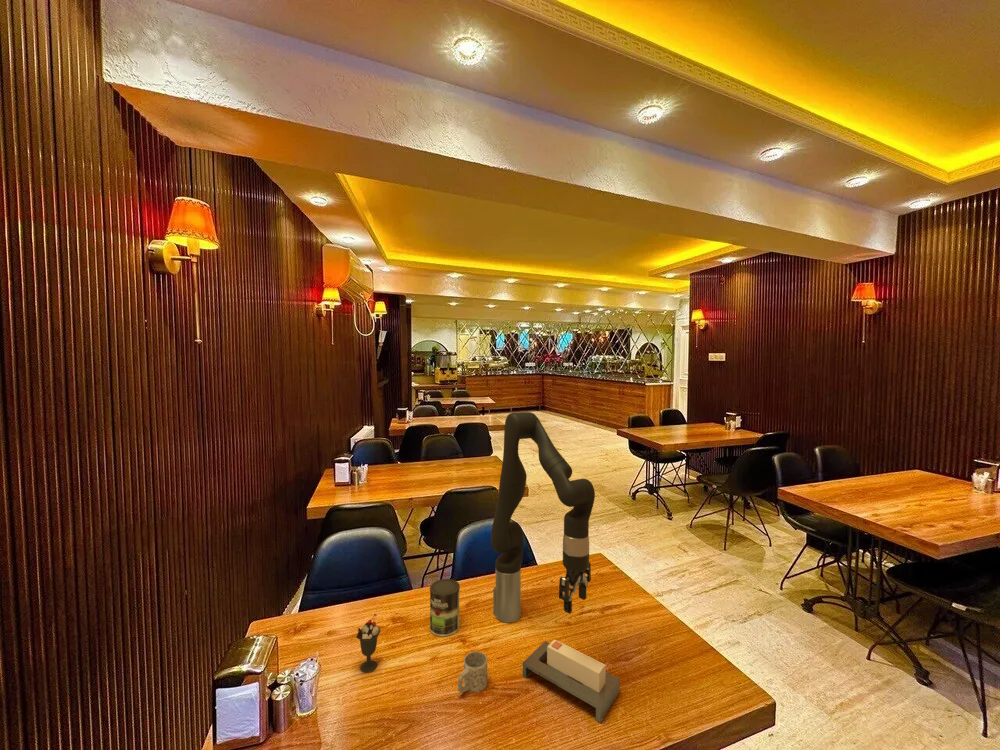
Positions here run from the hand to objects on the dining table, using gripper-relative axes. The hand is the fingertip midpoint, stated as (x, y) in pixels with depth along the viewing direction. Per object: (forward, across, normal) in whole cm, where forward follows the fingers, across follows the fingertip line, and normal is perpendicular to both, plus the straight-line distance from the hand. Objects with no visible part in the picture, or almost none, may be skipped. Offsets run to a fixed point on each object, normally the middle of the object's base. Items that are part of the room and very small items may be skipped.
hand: (575, 605), depth 112 cm
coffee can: (+22, +9, -46) cm, 51 cm away
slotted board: (+21, +3, 0) cm, 21 cm away
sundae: (+22, +36, -49) cm, 65 cm away
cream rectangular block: (+20, +3, +2) cm, 20 cm away
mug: (+21, +22, -20) cm, 37 cm away
